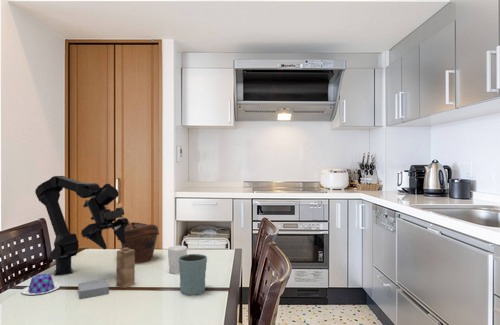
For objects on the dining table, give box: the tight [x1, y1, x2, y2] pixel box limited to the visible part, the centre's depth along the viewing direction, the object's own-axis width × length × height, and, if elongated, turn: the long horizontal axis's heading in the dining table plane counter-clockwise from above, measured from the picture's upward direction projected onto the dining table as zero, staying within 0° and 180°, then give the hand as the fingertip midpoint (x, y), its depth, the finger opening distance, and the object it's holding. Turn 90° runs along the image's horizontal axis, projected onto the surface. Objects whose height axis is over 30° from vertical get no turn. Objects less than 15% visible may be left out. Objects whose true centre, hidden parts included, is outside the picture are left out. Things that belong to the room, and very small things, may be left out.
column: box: [115, 247, 136, 289], centre depth 122 cm, size 4×4×14 cm
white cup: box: [167, 245, 188, 275], centre depth 139 cm, size 8×8×10 cm
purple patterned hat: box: [21, 272, 62, 296], centre depth 118 cm, size 12×12×5 cm
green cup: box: [179, 253, 208, 296], centre depth 117 cm, size 10×10×12 cm
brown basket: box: [116, 221, 161, 264], centre depth 156 cm, size 18×20×18 cm
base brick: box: [78, 278, 110, 299], centre depth 116 cm, size 9×9×2 cm
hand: (115, 246), depth 126 cm, fingers open, 9 cm apart
